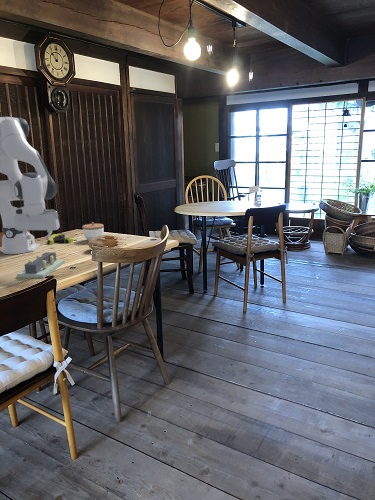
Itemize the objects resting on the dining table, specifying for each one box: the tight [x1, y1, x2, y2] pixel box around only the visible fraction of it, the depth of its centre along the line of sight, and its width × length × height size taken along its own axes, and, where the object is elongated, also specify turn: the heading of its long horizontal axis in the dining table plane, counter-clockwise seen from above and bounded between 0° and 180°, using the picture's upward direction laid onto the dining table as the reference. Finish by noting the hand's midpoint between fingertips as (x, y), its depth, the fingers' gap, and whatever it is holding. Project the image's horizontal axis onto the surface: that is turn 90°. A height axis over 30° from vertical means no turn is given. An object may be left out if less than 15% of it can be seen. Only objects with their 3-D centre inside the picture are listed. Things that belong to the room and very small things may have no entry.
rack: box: [16, 255, 66, 279], centre depth 188 cm, size 24×12×6 cm, turn 175°
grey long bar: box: [24, 252, 57, 274], centre depth 187 cm, size 21×5×4 cm, turn 175°
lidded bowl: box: [81, 222, 105, 242], centre depth 245 cm, size 13×13×11 cm
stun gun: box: [47, 233, 74, 245], centre depth 248 cm, size 3×19×15 cm
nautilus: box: [87, 234, 128, 249], centre depth 222 cm, size 8×22×15 cm
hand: (38, 239), depth 185 cm, fingers open, 8 cm apart
